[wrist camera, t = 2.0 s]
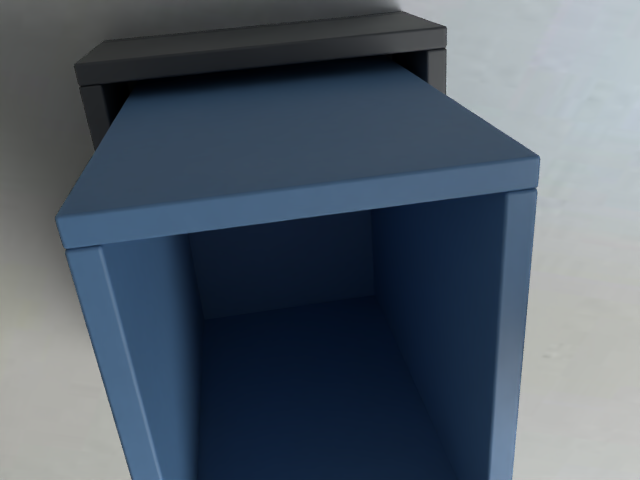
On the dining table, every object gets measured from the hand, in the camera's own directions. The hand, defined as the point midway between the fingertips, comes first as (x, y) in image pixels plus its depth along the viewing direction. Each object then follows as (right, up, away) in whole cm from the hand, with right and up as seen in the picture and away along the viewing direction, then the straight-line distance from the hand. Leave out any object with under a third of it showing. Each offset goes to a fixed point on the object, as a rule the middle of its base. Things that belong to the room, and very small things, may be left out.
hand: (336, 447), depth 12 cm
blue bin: (-2, +6, +11) cm, 13 cm away
